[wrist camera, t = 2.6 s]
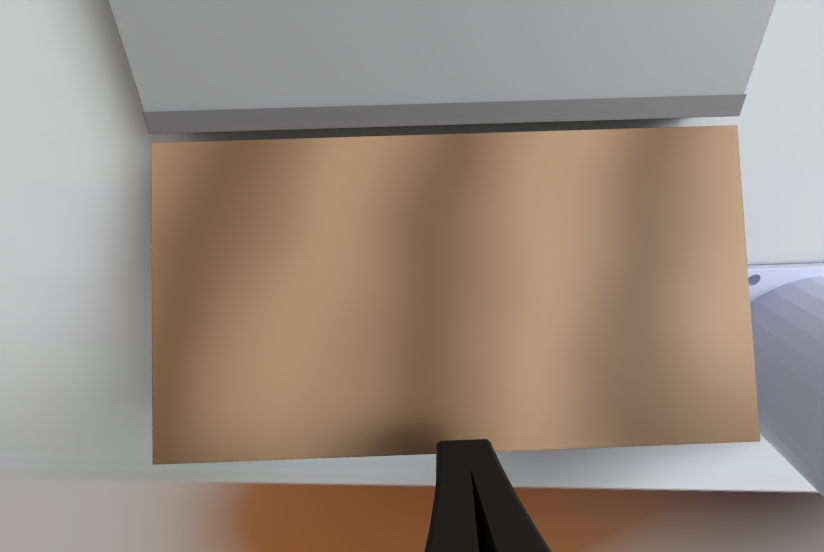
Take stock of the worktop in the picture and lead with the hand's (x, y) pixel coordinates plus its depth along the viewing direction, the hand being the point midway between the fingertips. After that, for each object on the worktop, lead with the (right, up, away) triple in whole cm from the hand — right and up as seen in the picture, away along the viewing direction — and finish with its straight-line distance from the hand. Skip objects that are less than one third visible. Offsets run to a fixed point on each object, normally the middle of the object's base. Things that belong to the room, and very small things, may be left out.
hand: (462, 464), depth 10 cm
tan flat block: (0, +5, +3) cm, 5 cm away
